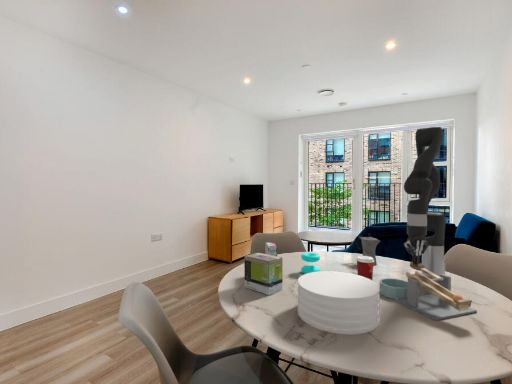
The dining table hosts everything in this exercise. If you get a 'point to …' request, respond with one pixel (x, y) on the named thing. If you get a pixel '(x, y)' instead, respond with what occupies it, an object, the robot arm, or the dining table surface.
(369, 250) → the coffeepot
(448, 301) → the lever
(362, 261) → the paper cup
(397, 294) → the bowl
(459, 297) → the ball
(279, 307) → the dining table surface
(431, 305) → the stand
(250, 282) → the tea box
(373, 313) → the plate stack
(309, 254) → the donuts
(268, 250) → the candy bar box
